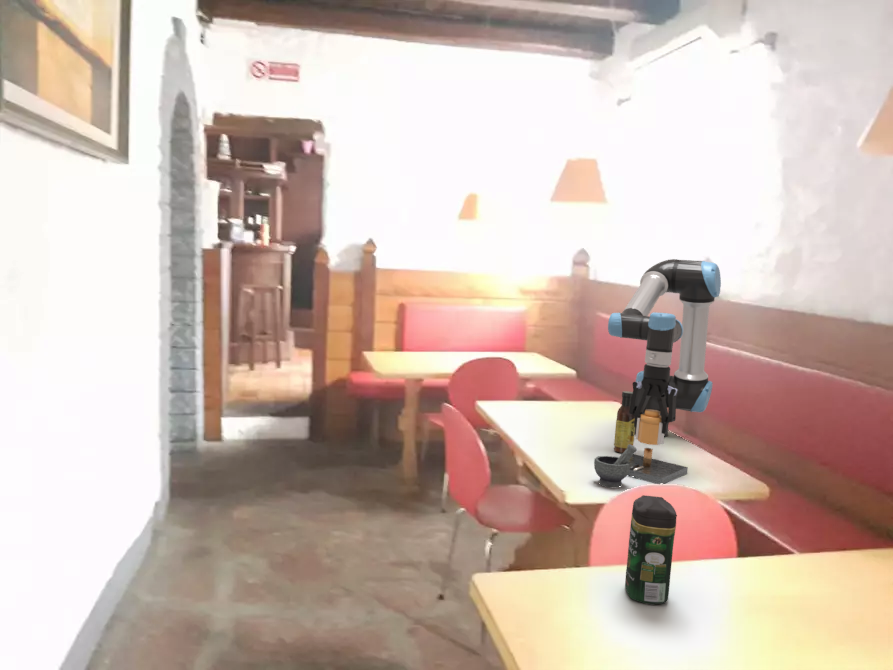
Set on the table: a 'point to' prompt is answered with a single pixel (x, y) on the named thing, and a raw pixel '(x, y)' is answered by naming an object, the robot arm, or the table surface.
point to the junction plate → (654, 468)
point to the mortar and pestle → (613, 467)
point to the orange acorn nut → (649, 427)
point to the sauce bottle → (624, 424)
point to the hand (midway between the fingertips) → (649, 441)
